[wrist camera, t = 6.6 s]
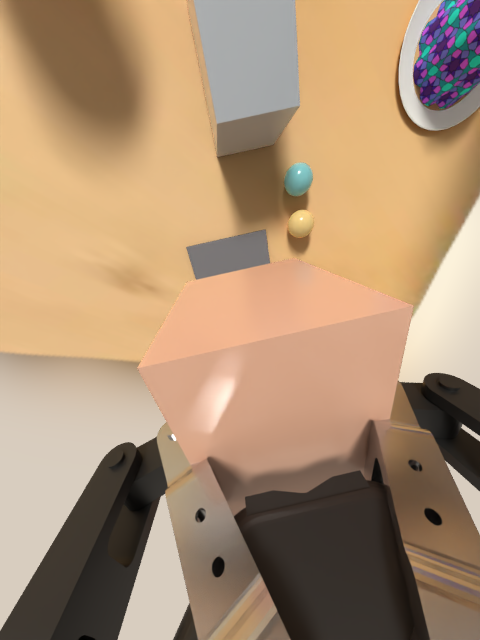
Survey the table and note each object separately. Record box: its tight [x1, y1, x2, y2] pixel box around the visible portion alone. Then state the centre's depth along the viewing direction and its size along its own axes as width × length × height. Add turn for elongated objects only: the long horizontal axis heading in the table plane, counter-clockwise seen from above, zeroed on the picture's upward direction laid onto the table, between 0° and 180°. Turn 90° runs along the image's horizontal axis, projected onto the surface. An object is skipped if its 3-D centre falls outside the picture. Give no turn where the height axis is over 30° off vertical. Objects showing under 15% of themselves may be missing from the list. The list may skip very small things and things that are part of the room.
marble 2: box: [288, 210, 314, 238], centre depth 23 cm, size 3×3×3 cm
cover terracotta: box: [137, 258, 414, 516], centre depth 10 cm, size 6×10×8 cm, turn 11°
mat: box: [186, 230, 270, 280], centre depth 27 cm, size 10×12×1 cm
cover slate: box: [187, 0, 300, 157], centre depth 15 cm, size 6×10×8 cm, turn 11°
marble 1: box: [284, 162, 313, 196], centre depth 21 cm, size 3×3×3 cm
